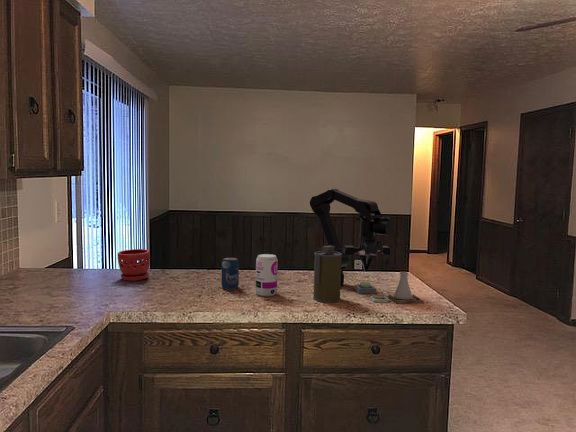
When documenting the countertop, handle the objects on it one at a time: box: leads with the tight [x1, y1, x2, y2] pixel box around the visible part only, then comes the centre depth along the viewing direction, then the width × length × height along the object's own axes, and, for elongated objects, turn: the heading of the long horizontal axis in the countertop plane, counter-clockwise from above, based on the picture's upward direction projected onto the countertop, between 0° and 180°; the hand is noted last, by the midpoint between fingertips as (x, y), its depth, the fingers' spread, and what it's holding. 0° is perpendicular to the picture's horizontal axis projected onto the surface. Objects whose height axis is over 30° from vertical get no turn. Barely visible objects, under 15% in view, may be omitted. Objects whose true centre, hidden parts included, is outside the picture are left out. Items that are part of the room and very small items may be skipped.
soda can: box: [220, 256, 240, 291], centre depth 194 cm, size 7×7×12 cm
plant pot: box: [117, 248, 151, 282], centre depth 206 cm, size 13×13×12 cm
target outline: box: [387, 293, 424, 305], centre depth 182 cm, size 10×10×1 cm
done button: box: [360, 281, 371, 288], centre depth 194 cm, size 4×4×2 cm
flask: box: [392, 271, 414, 301], centre depth 185 cm, size 7×7×10 cm
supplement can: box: [255, 253, 279, 297], centre depth 186 cm, size 8×8×15 cm
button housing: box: [354, 283, 377, 295], centre depth 194 cm, size 7×7×2 cm
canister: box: [312, 245, 342, 304], centre depth 180 cm, size 11×10×20 cm
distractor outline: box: [369, 295, 391, 303], centre depth 181 cm, size 6×6×1 cm
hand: (365, 271), depth 193 cm, fingers closed
